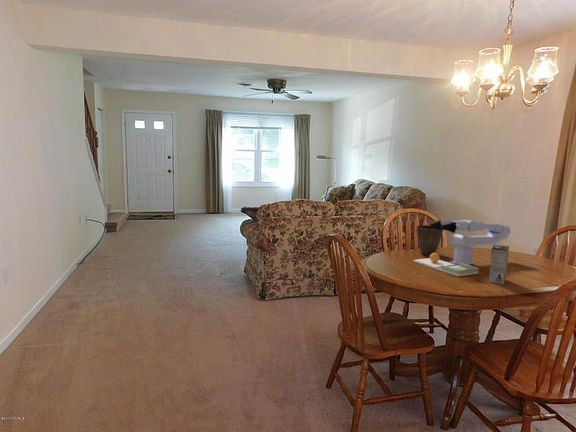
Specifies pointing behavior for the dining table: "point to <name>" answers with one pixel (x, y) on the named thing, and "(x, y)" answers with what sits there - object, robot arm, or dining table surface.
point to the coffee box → (498, 264)
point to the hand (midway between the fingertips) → (436, 226)
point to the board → (449, 267)
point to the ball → (434, 257)
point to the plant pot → (428, 239)
